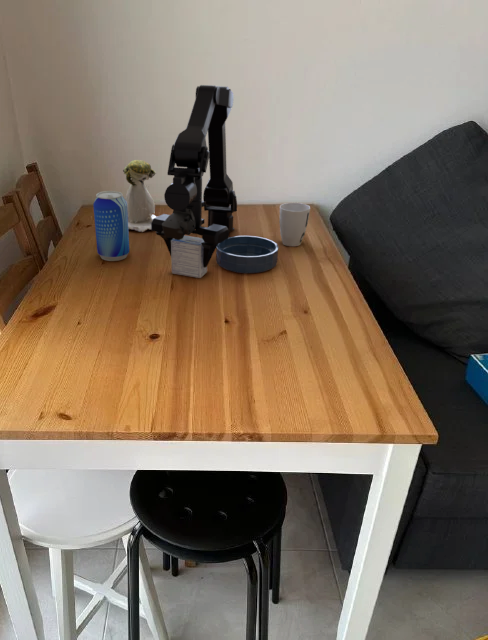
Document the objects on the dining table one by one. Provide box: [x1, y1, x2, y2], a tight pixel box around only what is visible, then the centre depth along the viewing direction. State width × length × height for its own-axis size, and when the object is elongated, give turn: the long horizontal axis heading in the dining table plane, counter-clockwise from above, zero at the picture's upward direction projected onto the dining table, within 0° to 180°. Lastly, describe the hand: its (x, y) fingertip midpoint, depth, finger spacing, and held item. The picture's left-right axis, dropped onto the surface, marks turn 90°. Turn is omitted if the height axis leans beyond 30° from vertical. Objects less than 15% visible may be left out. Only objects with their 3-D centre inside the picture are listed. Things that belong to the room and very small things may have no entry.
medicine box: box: [170, 235, 208, 279], centre depth 143 cm, size 8×4×9 cm, turn 65°
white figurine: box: [122, 159, 157, 233], centre depth 172 cm, size 12×13×18 cm
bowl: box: [215, 235, 280, 274], centre depth 150 cm, size 16×16×4 cm
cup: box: [279, 202, 311, 247], centre depth 161 cm, size 8×8×10 cm
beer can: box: [92, 190, 131, 262], centre depth 151 cm, size 8×8×16 cm
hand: (189, 263), depth 144 cm, fingers open, 9 cm apart
